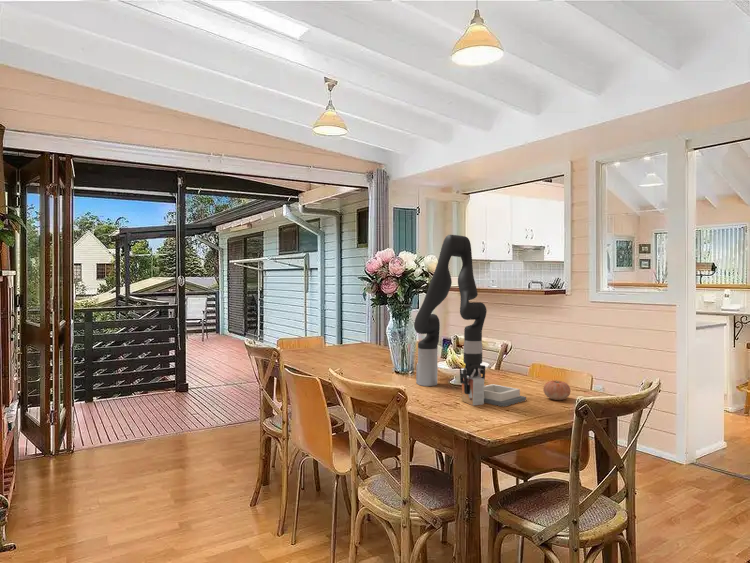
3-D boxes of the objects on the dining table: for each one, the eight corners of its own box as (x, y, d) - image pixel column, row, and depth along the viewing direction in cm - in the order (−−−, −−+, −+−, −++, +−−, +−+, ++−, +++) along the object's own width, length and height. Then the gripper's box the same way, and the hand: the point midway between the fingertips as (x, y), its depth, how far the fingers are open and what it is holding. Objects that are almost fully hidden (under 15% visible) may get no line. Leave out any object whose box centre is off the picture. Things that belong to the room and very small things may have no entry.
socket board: (467, 398, 219) (467, 387, 219) (490, 392, 230) (490, 382, 229) (503, 406, 205) (503, 395, 205) (526, 400, 216) (526, 389, 216)
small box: (461, 401, 214) (461, 375, 214) (472, 399, 217) (472, 374, 216) (472, 405, 207) (472, 379, 207) (484, 404, 209) (484, 378, 209)
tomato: (548, 402, 213) (548, 382, 213) (539, 396, 224) (540, 377, 224) (574, 402, 213) (574, 383, 213) (565, 396, 224) (565, 377, 224)
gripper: (476, 348, 219) (476, 388, 219) (454, 352, 210) (453, 393, 210) (491, 350, 213) (491, 391, 214) (469, 354, 204) (468, 396, 204)
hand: (472, 392), depth 212 cm, fingers closed on small box, 6 cm apart
